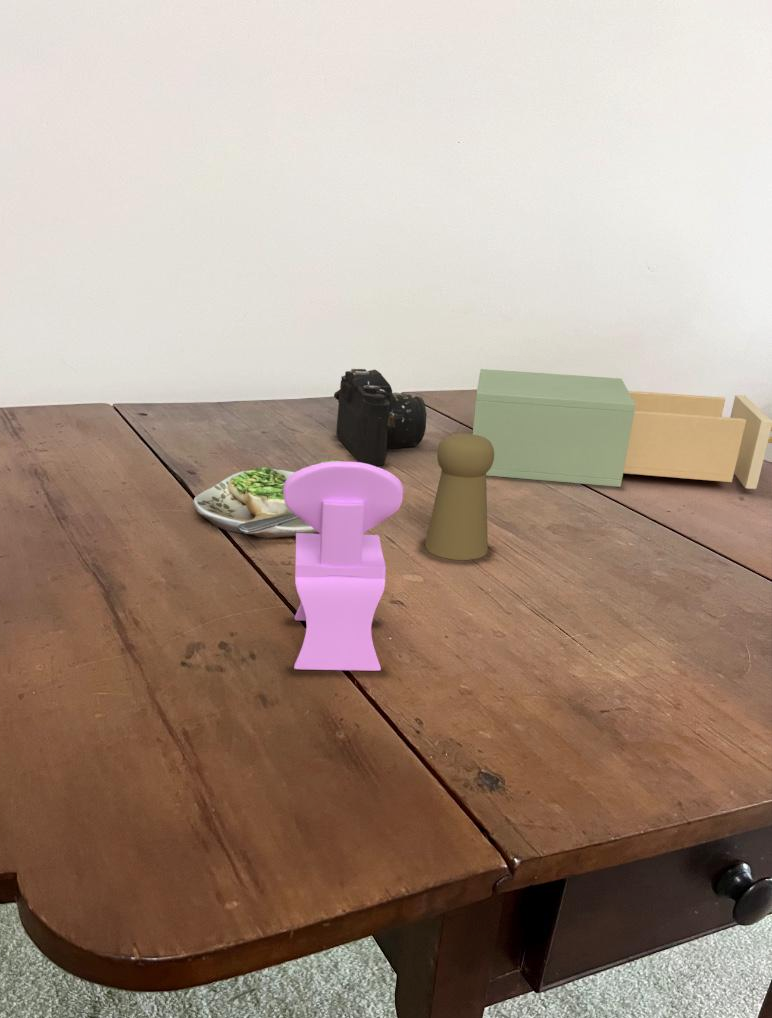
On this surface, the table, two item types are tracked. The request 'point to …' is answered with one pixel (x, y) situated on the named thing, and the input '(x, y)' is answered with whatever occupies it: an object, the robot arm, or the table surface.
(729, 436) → the drawer
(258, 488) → the salad plate
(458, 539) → the cork
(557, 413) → the cabinet
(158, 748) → the table surface
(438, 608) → the table surface
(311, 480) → the toy chair
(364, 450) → the film camera
